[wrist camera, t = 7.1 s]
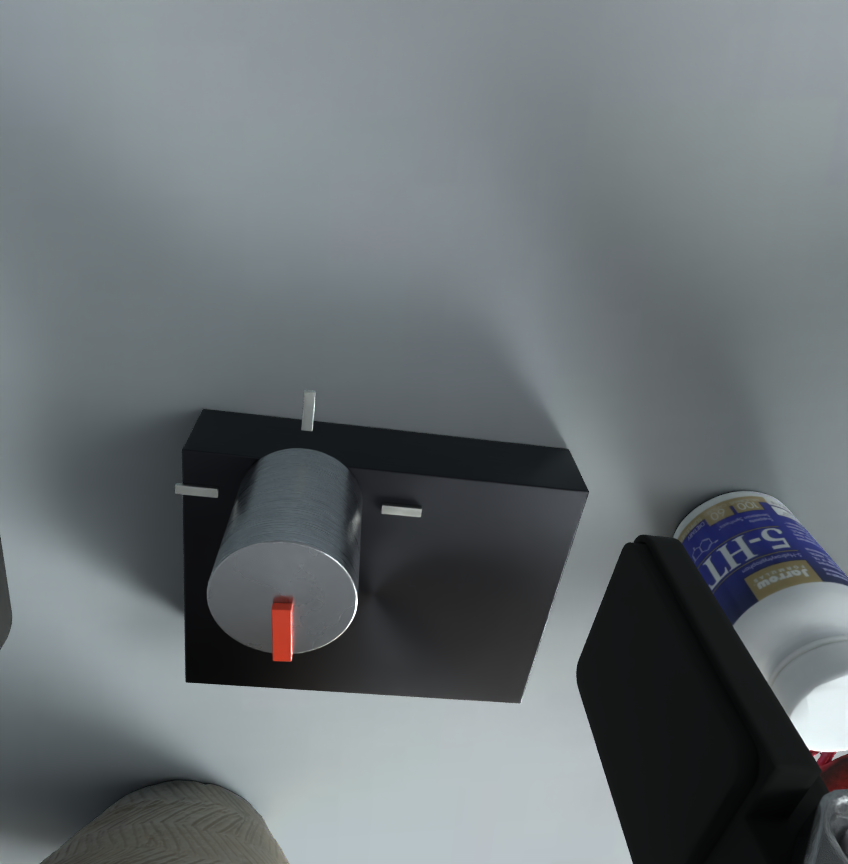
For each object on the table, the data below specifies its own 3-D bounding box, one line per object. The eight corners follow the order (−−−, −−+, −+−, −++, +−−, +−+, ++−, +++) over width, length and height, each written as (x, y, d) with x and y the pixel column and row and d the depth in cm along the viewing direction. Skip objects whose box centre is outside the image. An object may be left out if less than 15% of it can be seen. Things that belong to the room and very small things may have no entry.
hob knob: (236, 444, 22) (198, 545, 18) (364, 450, 23) (360, 551, 18) (241, 546, 24) (208, 661, 20) (359, 550, 25) (354, 664, 20)
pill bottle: (740, 464, 28) (880, 626, 20) (813, 529, 29) (968, 699, 22) (641, 547, 29) (734, 725, 22) (716, 603, 31) (827, 785, 23)
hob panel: (197, 628, 30) (179, 685, 27) (196, 339, 24) (172, 376, 21) (509, 650, 32) (521, 707, 29) (587, 386, 25) (612, 427, 23)
